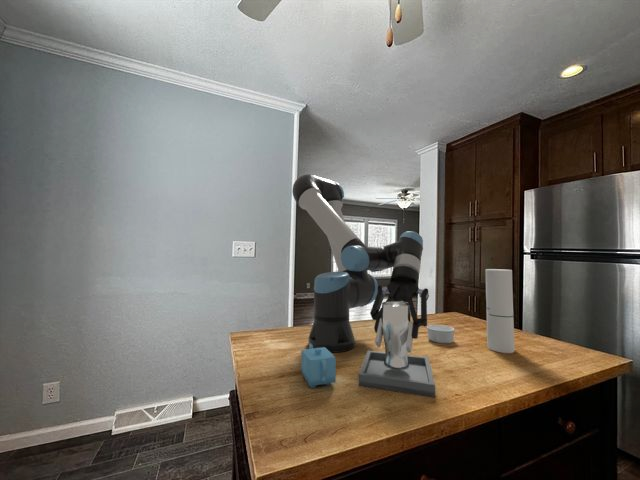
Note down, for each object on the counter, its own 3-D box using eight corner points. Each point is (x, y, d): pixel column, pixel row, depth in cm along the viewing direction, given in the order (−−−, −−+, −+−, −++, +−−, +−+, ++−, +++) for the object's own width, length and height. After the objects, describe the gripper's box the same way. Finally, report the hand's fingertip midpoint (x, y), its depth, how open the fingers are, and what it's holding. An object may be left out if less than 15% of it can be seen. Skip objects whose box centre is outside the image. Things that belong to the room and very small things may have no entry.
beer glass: (411, 361, 69) (410, 302, 69) (411, 373, 62) (410, 307, 63) (383, 358, 71) (382, 300, 72) (380, 368, 64) (379, 305, 65)
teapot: (297, 371, 69) (298, 340, 69) (320, 367, 71) (320, 338, 71) (311, 394, 57) (312, 358, 58) (338, 389, 59) (338, 354, 60)
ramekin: (421, 338, 97) (421, 326, 97) (438, 335, 101) (438, 323, 101) (442, 345, 89) (442, 332, 89) (460, 342, 93) (460, 329, 93)
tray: (358, 385, 61) (358, 374, 61) (367, 359, 76) (367, 350, 76) (435, 397, 56) (435, 384, 56) (428, 366, 72) (428, 357, 72)
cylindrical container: (505, 345, 89) (503, 269, 90) (519, 353, 82) (517, 270, 83) (483, 344, 90) (481, 269, 91) (494, 352, 83) (492, 270, 84)
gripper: (442, 283, 76) (438, 362, 61) (375, 280, 86) (357, 348, 70) (441, 265, 72) (436, 345, 57) (370, 263, 81) (349, 332, 66)
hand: (392, 346), depth 64 cm, fingers closed on beer glass, 6 cm apart
